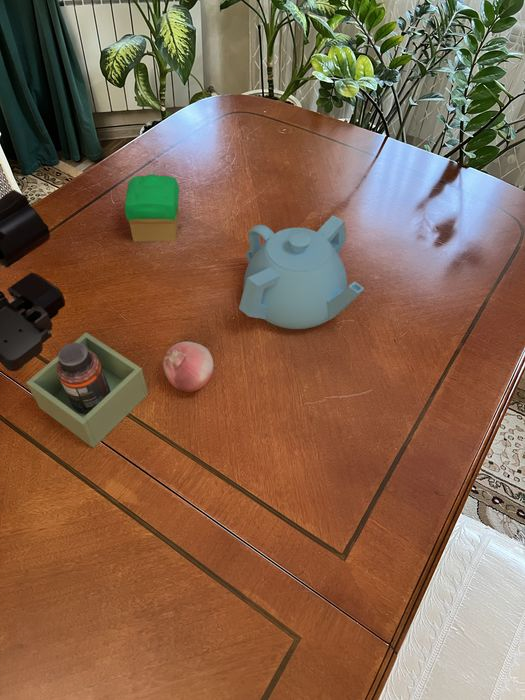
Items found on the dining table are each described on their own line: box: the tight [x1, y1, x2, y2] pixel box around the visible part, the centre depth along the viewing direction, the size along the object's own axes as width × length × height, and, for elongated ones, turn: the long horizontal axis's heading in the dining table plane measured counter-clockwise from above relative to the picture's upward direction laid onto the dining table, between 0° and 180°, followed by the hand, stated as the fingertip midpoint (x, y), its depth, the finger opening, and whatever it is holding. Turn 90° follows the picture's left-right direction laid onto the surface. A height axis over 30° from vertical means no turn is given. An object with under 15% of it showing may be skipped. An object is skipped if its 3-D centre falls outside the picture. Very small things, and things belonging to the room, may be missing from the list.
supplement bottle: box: [57, 342, 111, 414], centre depth 82 cm, size 6×6×11 cm
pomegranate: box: [162, 341, 215, 393], centre depth 87 cm, size 8×8×7 cm
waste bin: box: [25, 331, 149, 449], centre depth 84 cm, size 12×12×7 cm
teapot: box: [238, 214, 365, 330], centre depth 96 cm, size 19×19×14 cm
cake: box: [124, 173, 180, 242], centre depth 108 cm, size 10×11×10 cm
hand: (10, 372), depth 75 cm, fingers open, 9 cm apart
